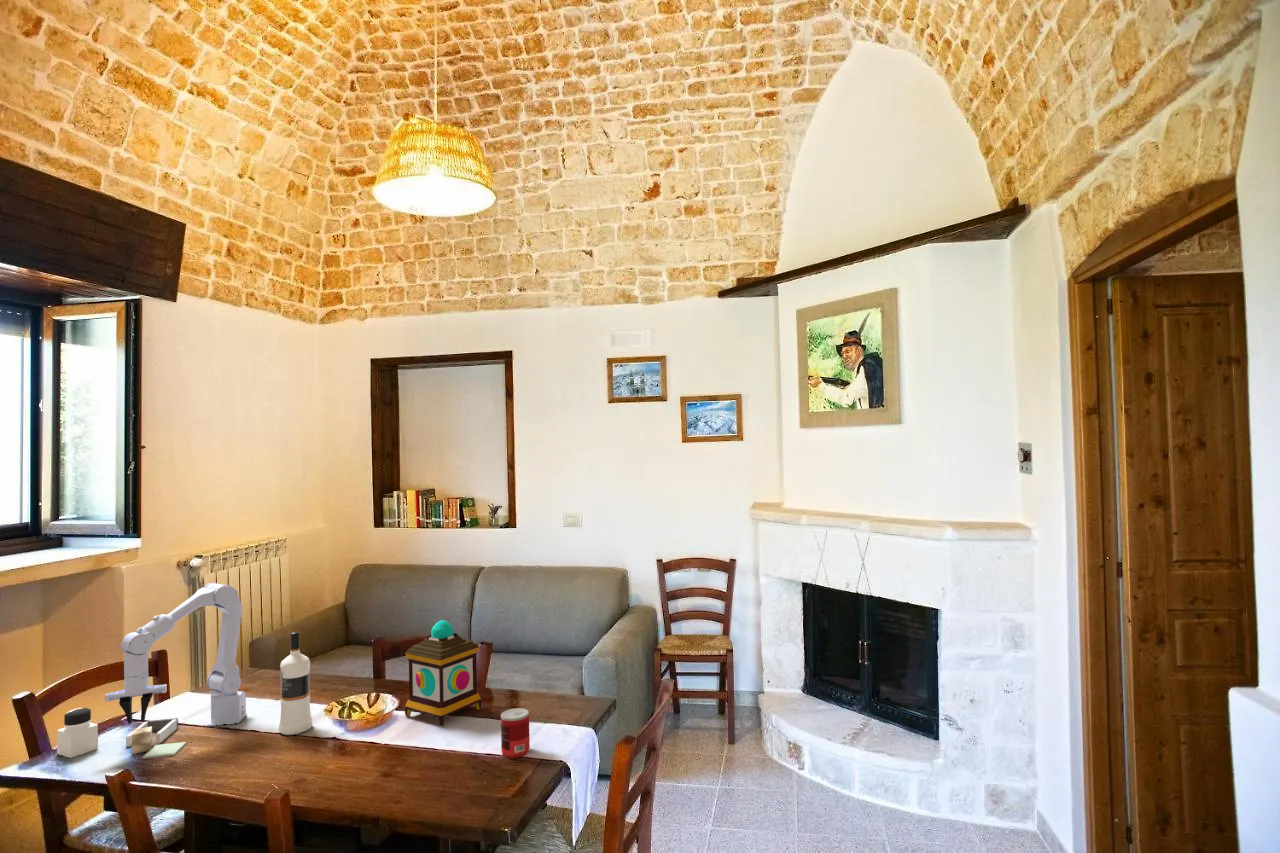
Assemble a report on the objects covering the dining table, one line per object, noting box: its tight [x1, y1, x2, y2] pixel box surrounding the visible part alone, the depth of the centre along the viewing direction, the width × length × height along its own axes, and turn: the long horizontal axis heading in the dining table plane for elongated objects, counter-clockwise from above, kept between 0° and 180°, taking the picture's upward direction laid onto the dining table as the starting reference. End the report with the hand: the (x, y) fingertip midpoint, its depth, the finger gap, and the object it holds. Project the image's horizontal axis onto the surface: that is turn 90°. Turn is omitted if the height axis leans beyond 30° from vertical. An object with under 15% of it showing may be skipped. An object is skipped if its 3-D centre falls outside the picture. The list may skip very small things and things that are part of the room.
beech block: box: [131, 726, 153, 755], centre depth 204 cm, size 4×4×6 cm
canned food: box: [500, 707, 531, 759], centre depth 196 cm, size 8×8×11 cm
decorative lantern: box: [404, 619, 482, 727], centre depth 227 cm, size 20×20×30 cm
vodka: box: [278, 631, 313, 736], centre depth 216 cm, size 9×9×30 cm
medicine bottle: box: [56, 707, 99, 759], centre depth 204 cm, size 7×7×12 cm
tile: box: [142, 741, 187, 760], centre depth 202 cm, size 8×8×1 cm
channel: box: [125, 717, 179, 748], centre depth 213 cm, size 9×12×3 cm
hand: (136, 721), depth 204 cm, fingers open, 2 cm apart
